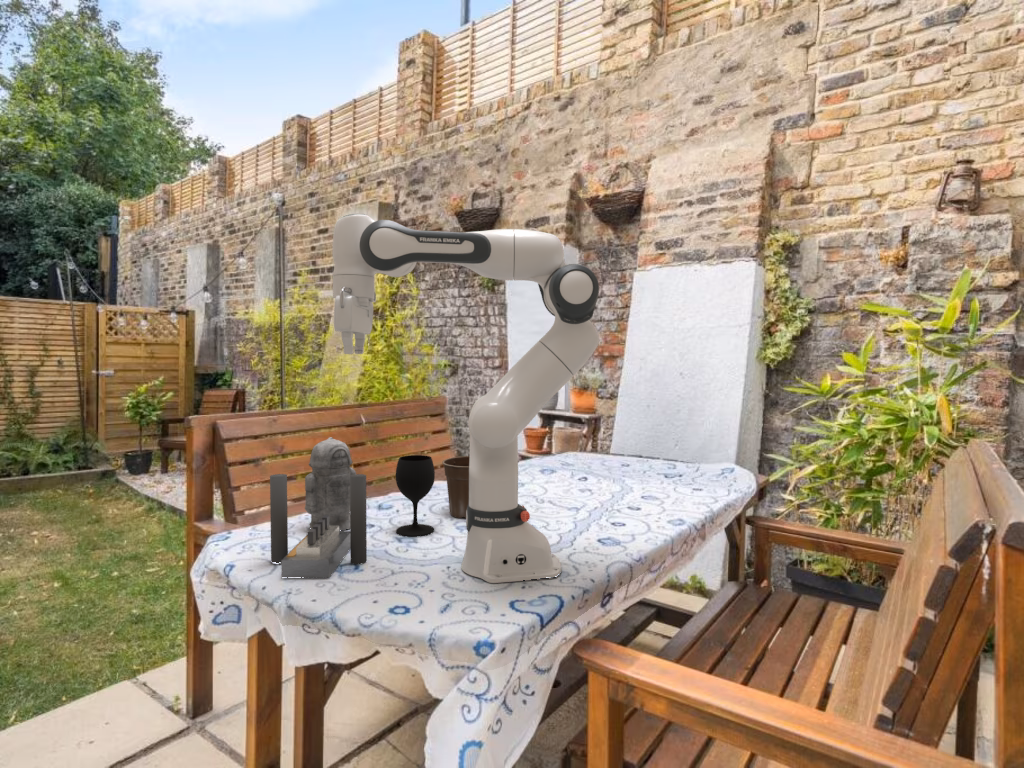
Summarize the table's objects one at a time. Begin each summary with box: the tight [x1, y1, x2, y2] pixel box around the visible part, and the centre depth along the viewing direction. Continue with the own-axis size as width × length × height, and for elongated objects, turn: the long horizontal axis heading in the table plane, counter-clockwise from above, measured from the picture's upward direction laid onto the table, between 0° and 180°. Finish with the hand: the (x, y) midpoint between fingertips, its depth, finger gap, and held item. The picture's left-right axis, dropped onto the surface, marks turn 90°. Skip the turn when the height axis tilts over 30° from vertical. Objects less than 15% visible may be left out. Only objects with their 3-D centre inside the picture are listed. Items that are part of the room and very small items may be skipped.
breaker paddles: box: [306, 515, 329, 544], centre depth 133 cm, size 1×13×3 cm, turn 2°
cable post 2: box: [349, 473, 368, 565], centre depth 134 cm, size 4×4×20 cm
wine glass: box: [395, 454, 436, 538], centre depth 157 cm, size 10×10×20 cm
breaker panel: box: [280, 526, 350, 579], centre depth 134 cm, size 10×20×6 cm, turn 2°
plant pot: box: [441, 455, 470, 519], centre depth 174 cm, size 16×16×16 cm
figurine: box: [304, 436, 357, 531], centre depth 159 cm, size 10×14×25 cm
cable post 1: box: [269, 473, 289, 563], centre depth 133 cm, size 4×4×20 cm
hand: (354, 354), depth 128 cm, fingers open, 8 cm apart
